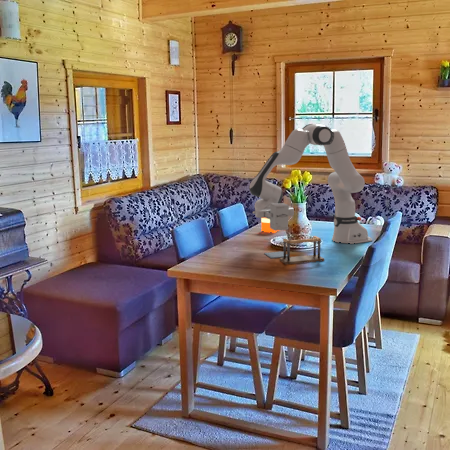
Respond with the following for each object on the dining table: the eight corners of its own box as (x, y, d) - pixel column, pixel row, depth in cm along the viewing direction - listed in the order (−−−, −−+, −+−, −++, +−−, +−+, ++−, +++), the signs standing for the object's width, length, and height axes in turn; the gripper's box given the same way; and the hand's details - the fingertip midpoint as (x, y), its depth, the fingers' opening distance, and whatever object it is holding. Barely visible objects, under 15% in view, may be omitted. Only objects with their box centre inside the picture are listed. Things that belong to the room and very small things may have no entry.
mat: (282, 252, 290) (282, 251, 290) (289, 257, 280) (289, 255, 280) (264, 254, 287) (264, 252, 287) (271, 258, 278) (271, 257, 278)
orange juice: (266, 229, 350) (266, 198, 346) (279, 230, 345) (279, 198, 341) (261, 231, 343) (261, 199, 339) (274, 232, 339) (274, 200, 335)
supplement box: (275, 231, 274) (275, 205, 271) (269, 227, 281) (269, 203, 278) (288, 229, 276) (289, 204, 273) (283, 226, 283) (283, 202, 280)
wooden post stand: (315, 255, 278) (315, 235, 276) (320, 258, 272) (320, 238, 270) (283, 258, 273) (283, 238, 272) (287, 261, 268) (287, 241, 266)
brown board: (317, 256, 279) (317, 254, 279) (324, 260, 271) (324, 258, 271) (279, 260, 274) (279, 257, 274) (286, 264, 266) (286, 262, 266)
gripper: (251, 205, 286) (260, 210, 272) (288, 203, 291) (298, 207, 278) (251, 217, 287) (260, 222, 274) (288, 215, 292) (298, 219, 279)
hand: (279, 214), depth 276 cm, fingers closed on supplement box, 7 cm apart
